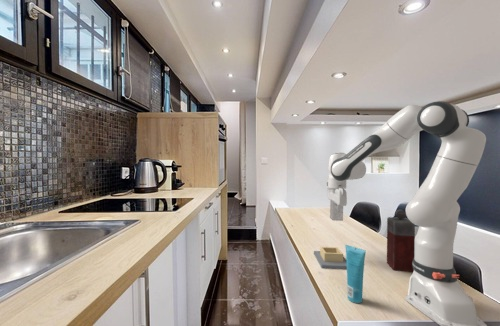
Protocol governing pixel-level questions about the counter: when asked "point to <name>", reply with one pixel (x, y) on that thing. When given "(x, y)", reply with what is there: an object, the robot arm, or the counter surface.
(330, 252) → the collar stand
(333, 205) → the block
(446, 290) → the robot arm
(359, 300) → the tube
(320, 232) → the counter surface
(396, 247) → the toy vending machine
